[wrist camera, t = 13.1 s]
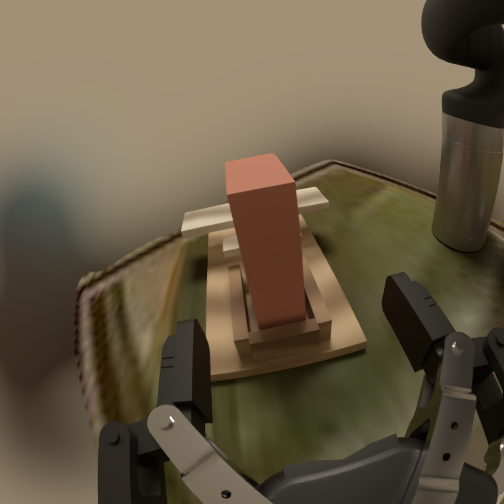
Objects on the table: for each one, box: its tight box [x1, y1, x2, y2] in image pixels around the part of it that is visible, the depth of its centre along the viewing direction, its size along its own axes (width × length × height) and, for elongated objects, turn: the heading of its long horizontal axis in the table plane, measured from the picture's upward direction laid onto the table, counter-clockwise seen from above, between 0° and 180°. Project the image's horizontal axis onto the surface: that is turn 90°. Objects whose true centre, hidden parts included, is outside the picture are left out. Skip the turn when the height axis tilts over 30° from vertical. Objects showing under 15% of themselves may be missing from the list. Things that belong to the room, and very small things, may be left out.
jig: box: [181, 187, 367, 382], centre depth 32 cm, size 28×18×7 cm, turn 6°
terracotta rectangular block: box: [225, 153, 306, 330], centre depth 22 cm, size 7×4×14 cm, turn 6°
